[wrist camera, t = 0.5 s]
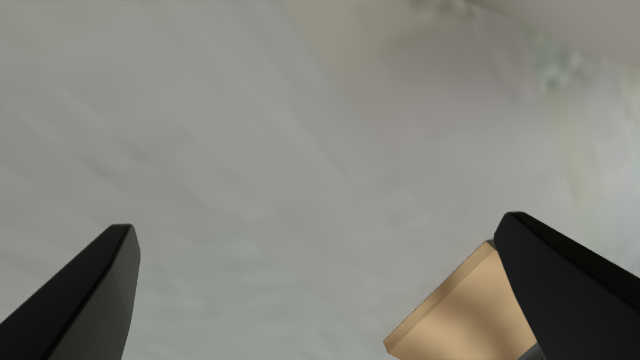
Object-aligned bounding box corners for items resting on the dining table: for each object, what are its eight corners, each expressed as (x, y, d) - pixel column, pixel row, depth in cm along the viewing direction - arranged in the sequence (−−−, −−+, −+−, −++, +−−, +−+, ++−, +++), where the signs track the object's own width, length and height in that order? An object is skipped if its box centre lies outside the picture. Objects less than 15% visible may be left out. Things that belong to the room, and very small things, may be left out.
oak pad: (467, 386, 38) (473, 397, 37) (383, 341, 33) (388, 353, 32) (561, 302, 35) (571, 311, 34) (485, 241, 30) (494, 249, 29)
